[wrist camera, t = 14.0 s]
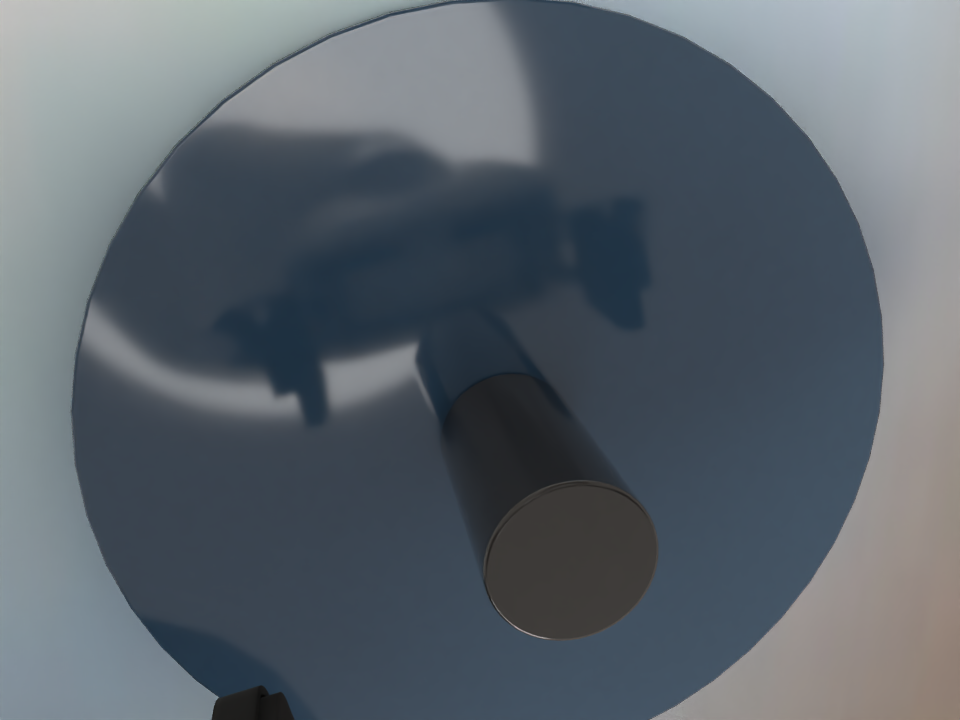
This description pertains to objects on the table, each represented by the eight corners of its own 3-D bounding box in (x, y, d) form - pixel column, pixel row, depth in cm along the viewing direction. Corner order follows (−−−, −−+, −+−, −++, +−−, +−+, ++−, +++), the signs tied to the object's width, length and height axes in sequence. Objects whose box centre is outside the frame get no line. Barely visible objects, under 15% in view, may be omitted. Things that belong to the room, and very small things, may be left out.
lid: (-109, 300, 17) (-334, 426, 11) (666, -178, 16) (858, -308, 11) (373, 846, 23) (393, 1115, 17) (947, 501, 22) (1168, 654, 17)
